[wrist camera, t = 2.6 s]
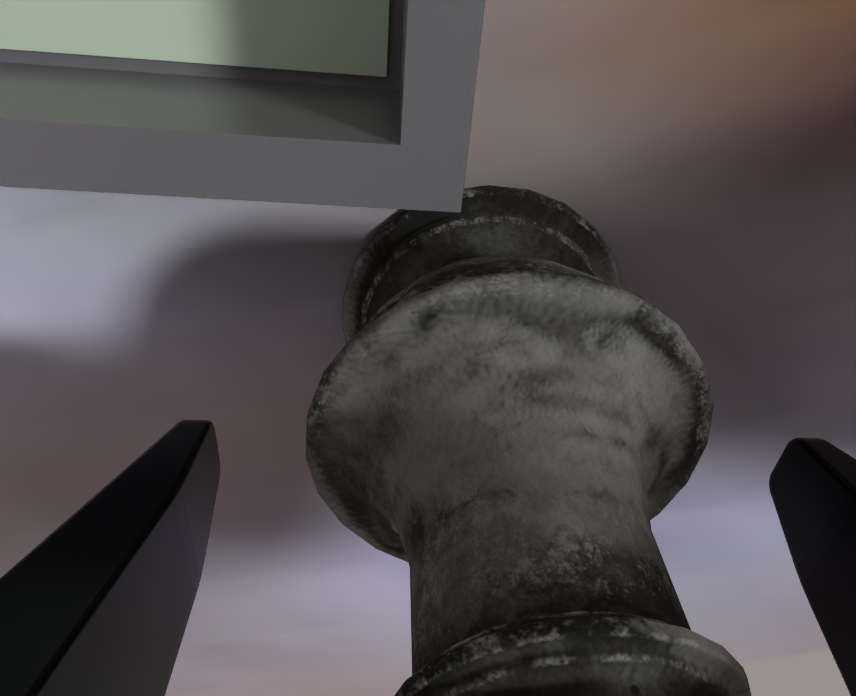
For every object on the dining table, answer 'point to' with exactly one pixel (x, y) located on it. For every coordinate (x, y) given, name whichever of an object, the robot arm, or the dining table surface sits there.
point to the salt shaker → (517, 453)
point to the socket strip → (241, 99)
